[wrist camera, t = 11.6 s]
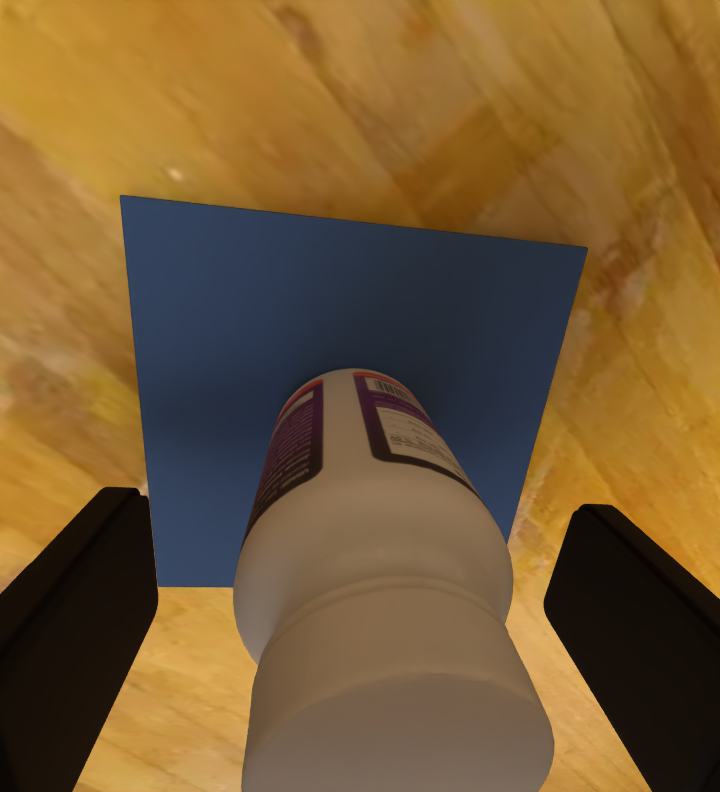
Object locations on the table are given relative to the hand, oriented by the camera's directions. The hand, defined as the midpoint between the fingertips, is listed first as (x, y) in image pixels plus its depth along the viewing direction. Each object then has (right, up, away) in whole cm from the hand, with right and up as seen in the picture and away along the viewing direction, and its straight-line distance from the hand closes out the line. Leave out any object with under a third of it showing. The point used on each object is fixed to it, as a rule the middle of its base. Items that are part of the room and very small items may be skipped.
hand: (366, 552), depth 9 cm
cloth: (-1, +2, +6) cm, 6 cm away
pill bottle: (0, +2, +6) cm, 6 cm away
